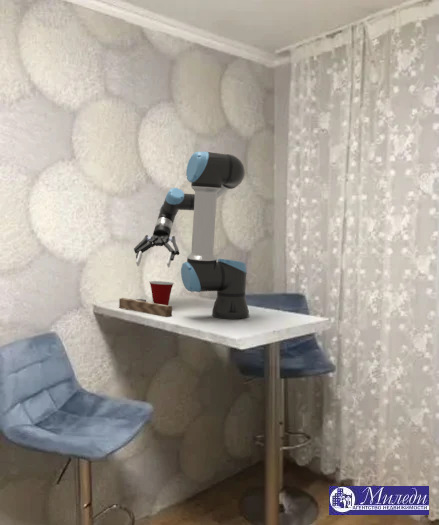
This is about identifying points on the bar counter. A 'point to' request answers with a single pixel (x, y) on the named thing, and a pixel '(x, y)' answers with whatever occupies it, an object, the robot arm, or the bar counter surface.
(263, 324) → the bar counter surface
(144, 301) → the rail
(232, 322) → the bar counter surface
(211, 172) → the robot arm
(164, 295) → the plastic cup
